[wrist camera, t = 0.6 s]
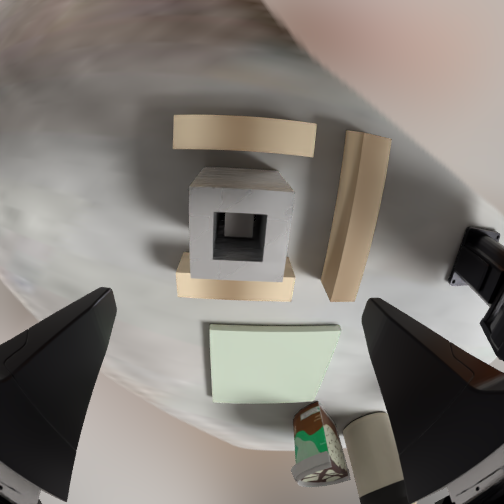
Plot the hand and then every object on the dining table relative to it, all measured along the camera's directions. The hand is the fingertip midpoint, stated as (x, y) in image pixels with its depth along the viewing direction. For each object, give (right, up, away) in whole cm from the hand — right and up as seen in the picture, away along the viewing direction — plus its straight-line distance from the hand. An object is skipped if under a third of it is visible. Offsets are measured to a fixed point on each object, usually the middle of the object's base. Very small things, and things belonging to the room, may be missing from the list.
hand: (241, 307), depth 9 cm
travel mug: (+19, -26, +27) cm, 42 cm away
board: (+2, -10, +18) cm, 21 cm away
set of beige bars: (+2, +5, +10) cm, 12 cm away
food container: (+8, -22, +25) cm, 34 cm away
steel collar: (-1, +5, +10) cm, 12 cm away
